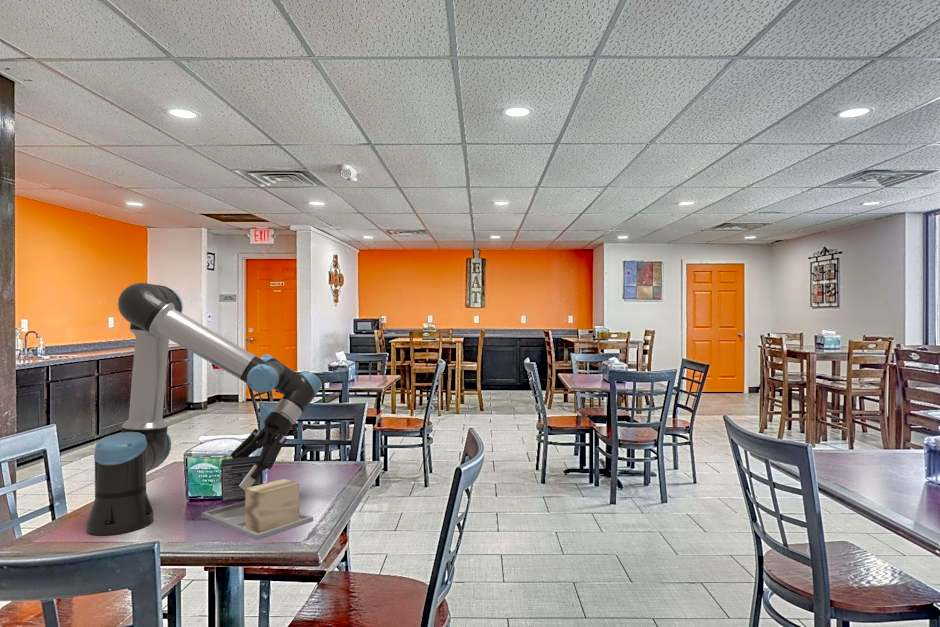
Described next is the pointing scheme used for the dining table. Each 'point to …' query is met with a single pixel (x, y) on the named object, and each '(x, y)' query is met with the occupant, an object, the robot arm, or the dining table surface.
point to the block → (271, 505)
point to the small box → (236, 477)
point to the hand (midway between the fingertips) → (232, 485)
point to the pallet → (235, 520)
